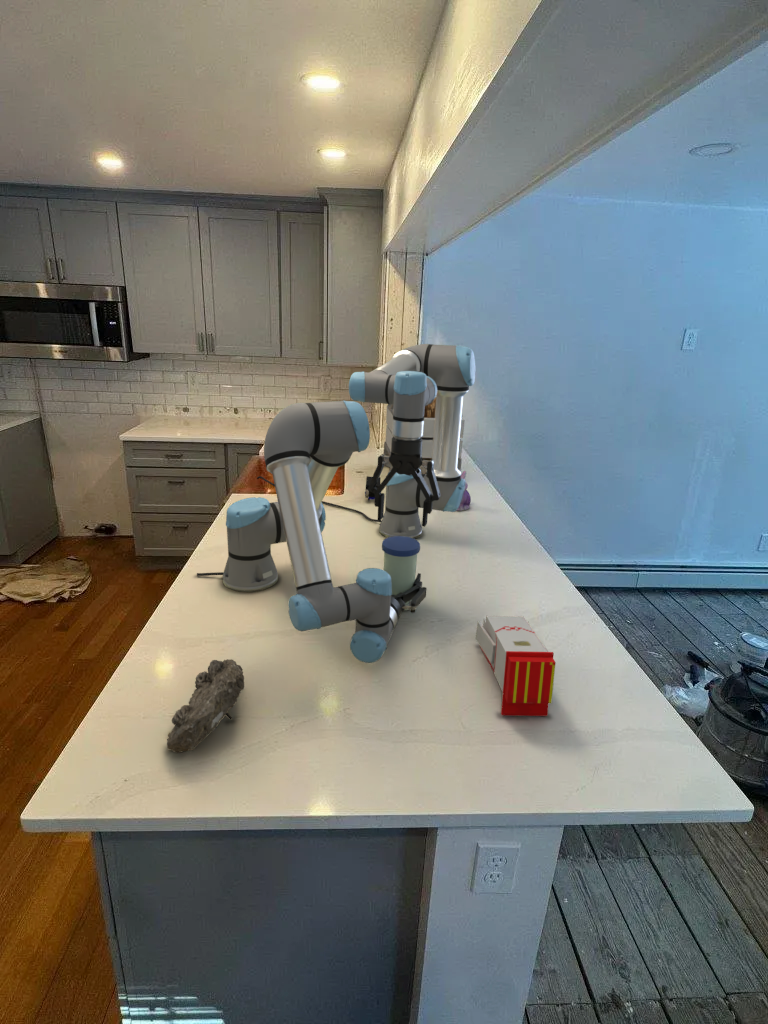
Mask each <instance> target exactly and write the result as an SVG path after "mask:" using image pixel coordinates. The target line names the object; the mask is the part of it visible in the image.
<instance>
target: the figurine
mask: <svg viewBox="0 0 768 1024" xmlns="http://www.w3.org/2000/svg"><path fill="white" fill-rule="evenodd" d="M466 475H467V471H466V470H464V471H462V472H461V479H462V478H463V479H465V488H464V492H463V496H462V499H461V502H460V505H459V507H458V509H457V510H456V511H466V510H468V509H470V507H471V502H472V498H471V494H470V492H469V491H468V490H467V489H468V487H469V485H468V482H467V480H466Z"/></svg>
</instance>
